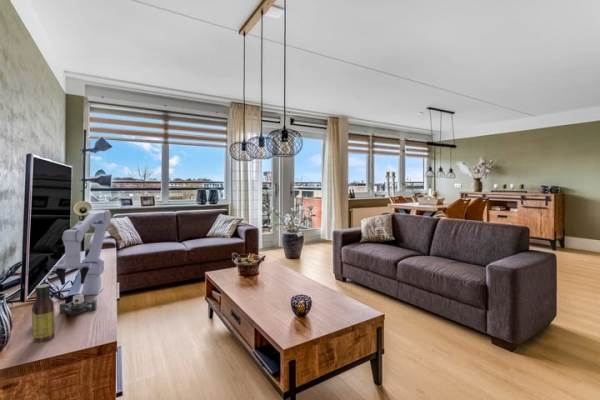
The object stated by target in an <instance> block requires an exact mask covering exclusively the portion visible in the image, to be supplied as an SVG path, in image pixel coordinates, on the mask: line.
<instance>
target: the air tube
mask: <svg viewBox="0 0 600 400" xmlns="http://www.w3.org/2000/svg"><path fill="white" fill-rule="evenodd" d="M84 299H85V295H84V294H81V293H79V294H75V295H73V296H72V301H73V305H74V304H77V305H80V304H84ZM81 309H84V307H83V308H80V309H73V311H76V310H81Z"/></svg>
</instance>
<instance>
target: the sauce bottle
mask: <svg viewBox="0 0 600 400" xmlns="http://www.w3.org/2000/svg"><path fill="white" fill-rule="evenodd" d="M34 289H35V300H34V303H33V306H32V307H31V318H32V321H31V322H32V338H33V339H32V340H33V341H34V342H38V343H39V342H45V341H49V340H50V339H52V338H54V337H55V334H56V333H55V331H56V323H55V321H56V319H55V315H56V314H55V303H54V300H53V298H50V297H51V295H50V289H51V284H47V283H44V284H39V285H36V286H35V288H34Z"/></svg>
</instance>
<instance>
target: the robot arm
mask: <svg viewBox="0 0 600 400" xmlns="http://www.w3.org/2000/svg"><path fill="white" fill-rule="evenodd" d="M111 220H112V212H111V211H110V210H109V209H89V210H88V211H87V212H86V217H85V218H84V219H83V220H82V221H81V220H80V221H79V220H78V221H77V222H76V223H75V225H74V226H72V227H71V228H70V229H66V230H64V231H63V232H62V236H61V240H62V242H63V245H64V253H65V254H64V257H65V258H64V259H65V262H64V263H63V264H62V263H61V264H55V265H53V266H52V267H53V268H52V270H53V271H55V274H56V276H57V277H58V279H59V282H60V284H61V285H60V286H64V285H65V284H66V270H75V269H78V274H79V275H80V284H81V285H82V290H83V291H82V292H83V293H84V296H92V295H93V296H94V295H99V294H100V293H101V292H102V291H103V289H104V287H102V277H101V275H102V274H103V273H104V270H105V261H104V260H103V259H102V258H101V257H100V256H101V253H102V248H103V243H104V240H105V235H106V230H107V228H108V227H110V224H111ZM90 226H91V227H94V231H93V232H94V233H93V236H92V239H91V244H90V248H89V251H88V256H86V257H85V258H84V259H82V260H81V243H82V241H83V239H84V237H85V234H86V233H87V232H88V231H89V230H90Z"/></svg>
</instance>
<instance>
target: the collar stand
mask: <svg viewBox="0 0 600 400" xmlns="http://www.w3.org/2000/svg"><path fill="white" fill-rule="evenodd" d="M83 307H84V309H81V310H76V311H73V309H80V308H83ZM97 309H98V300H97V299H95V300H94V299H93V300H92V301H90V300H89V299H85V298H84V304H80V305H77V304H74V305H73V300H72V301H70V302H68V303H66V302H61V303H59V308H58V310H59V311H58V312H59V313H58V314H61V315H62V314H65V313H66V314H68V315H70V316H72V315H73V316H74V315H81V314H84V313H87V312H88V311H91V312H92V311H94V312H95V311H96V310H97Z"/></svg>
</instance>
